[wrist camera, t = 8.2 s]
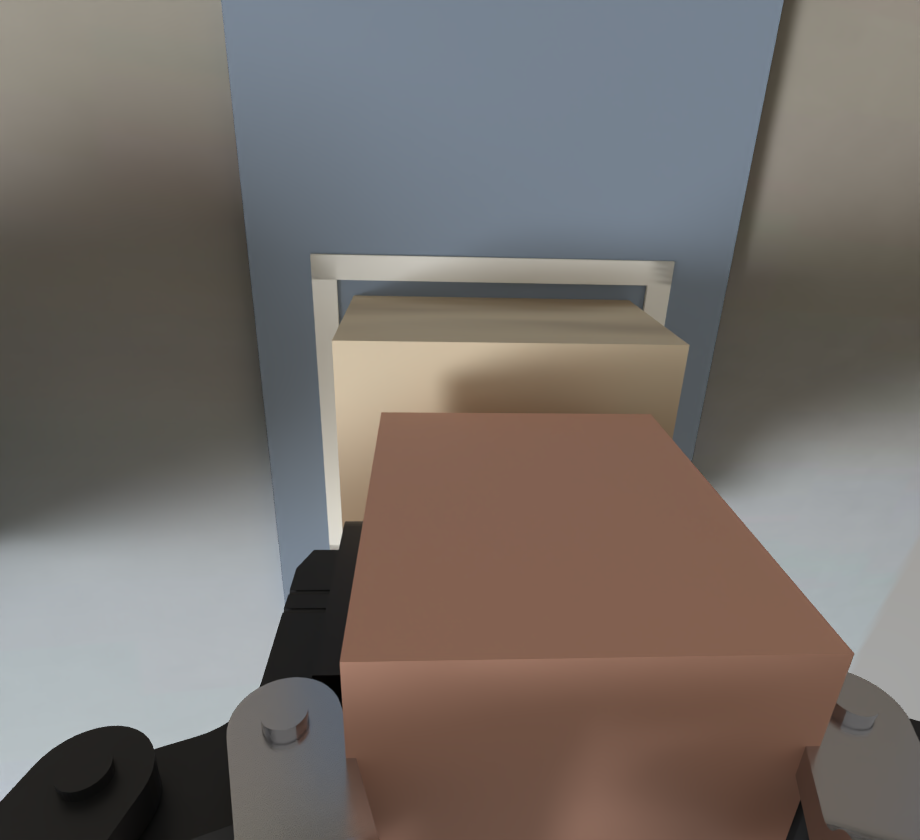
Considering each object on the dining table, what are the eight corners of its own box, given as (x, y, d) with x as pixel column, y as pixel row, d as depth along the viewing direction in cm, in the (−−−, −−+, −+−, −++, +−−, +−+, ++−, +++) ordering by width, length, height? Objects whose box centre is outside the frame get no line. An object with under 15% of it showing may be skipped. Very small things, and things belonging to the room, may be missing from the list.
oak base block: (354, 295, 16) (331, 340, 12) (629, 300, 16) (689, 345, 12) (363, 531, 18) (347, 627, 15) (597, 530, 19) (638, 623, 15)
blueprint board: (168, -600, 10) (150, -651, 9) (872, -530, 11) (900, -573, 10) (291, 612, 20) (286, 627, 19) (654, 608, 21) (661, 622, 20)
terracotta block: (381, 412, 11) (340, 663, 6) (650, 414, 12) (854, 653, 6) (386, 627, 13) (358, 964, 8) (616, 624, 14) (746, 948, 8)
